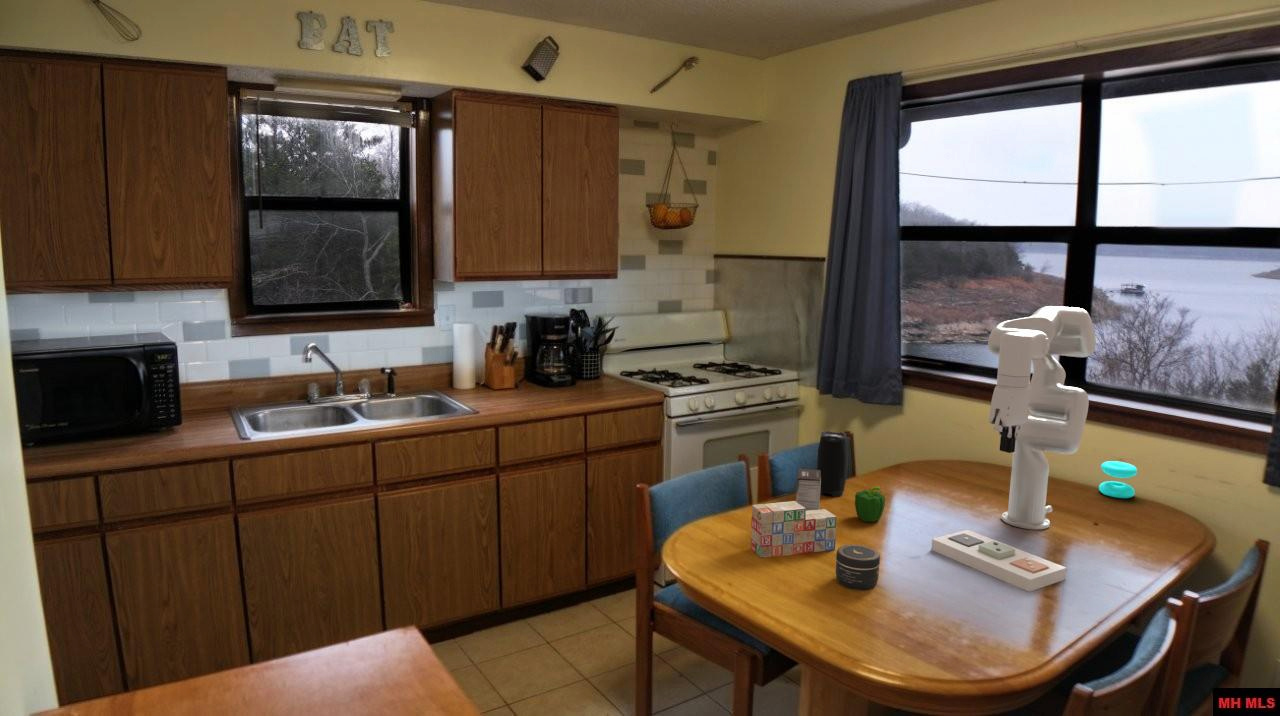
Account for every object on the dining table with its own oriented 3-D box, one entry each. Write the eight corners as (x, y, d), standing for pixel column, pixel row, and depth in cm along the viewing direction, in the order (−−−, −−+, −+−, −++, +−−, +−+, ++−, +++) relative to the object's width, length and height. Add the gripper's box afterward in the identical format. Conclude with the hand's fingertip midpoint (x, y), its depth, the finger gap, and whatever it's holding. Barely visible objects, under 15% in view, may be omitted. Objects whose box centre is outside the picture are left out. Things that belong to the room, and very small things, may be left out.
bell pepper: (851, 522, 227) (853, 488, 226) (855, 513, 235) (857, 480, 233) (882, 526, 224) (884, 492, 223) (885, 517, 232) (887, 484, 230)
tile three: (1024, 567, 196) (1025, 556, 195) (1047, 576, 191) (1048, 565, 190) (1009, 572, 193) (1010, 561, 193) (1032, 582, 188) (1033, 570, 187)
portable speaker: (812, 489, 256) (814, 430, 253) (839, 488, 258) (842, 430, 255) (821, 498, 248) (824, 437, 245) (850, 497, 249) (853, 436, 246)
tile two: (993, 550, 203) (994, 539, 203) (1014, 559, 198) (1015, 548, 198) (977, 555, 200) (978, 544, 200) (998, 563, 195) (999, 552, 195)
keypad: (966, 540, 215) (967, 529, 215) (1065, 579, 191) (1066, 567, 191) (931, 549, 208) (932, 538, 208) (1029, 591, 184) (1030, 579, 184)
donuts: (1144, 466, 252) (1124, 470, 248) (1141, 497, 253) (1121, 501, 249) (1114, 458, 261) (1094, 462, 257) (1111, 488, 262) (1091, 491, 258)
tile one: (963, 542, 211) (964, 532, 211) (982, 550, 206) (983, 540, 206) (948, 547, 208) (948, 536, 208) (967, 555, 203) (968, 544, 203)
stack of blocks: (823, 541, 213) (826, 497, 211) (835, 550, 207) (838, 505, 205) (750, 549, 207) (751, 504, 205) (760, 558, 201) (761, 512, 199)
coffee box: (795, 522, 227) (797, 468, 224) (817, 524, 226) (820, 469, 223) (794, 533, 218) (797, 477, 216) (818, 535, 217) (821, 479, 214)
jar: (871, 595, 181) (873, 564, 180) (828, 585, 186) (830, 554, 185) (883, 579, 190) (885, 549, 188) (842, 570, 195) (844, 540, 194)
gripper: (1018, 376, 208) (1012, 444, 211) (981, 381, 200) (975, 451, 203) (1045, 381, 201) (1038, 451, 204) (1007, 386, 194) (1001, 458, 197)
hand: (1006, 451), depth 204 cm, fingers closed
